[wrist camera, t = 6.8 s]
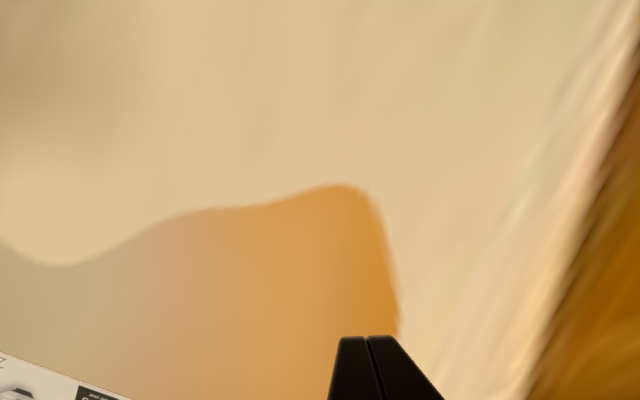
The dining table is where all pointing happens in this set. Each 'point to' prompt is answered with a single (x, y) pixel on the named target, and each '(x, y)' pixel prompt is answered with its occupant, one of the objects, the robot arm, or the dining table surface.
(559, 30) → the dining table surface
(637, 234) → the dining table surface
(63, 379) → the light bulb box
